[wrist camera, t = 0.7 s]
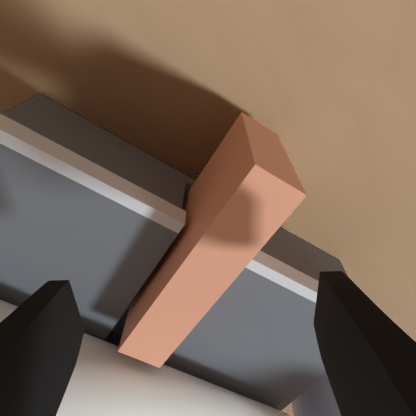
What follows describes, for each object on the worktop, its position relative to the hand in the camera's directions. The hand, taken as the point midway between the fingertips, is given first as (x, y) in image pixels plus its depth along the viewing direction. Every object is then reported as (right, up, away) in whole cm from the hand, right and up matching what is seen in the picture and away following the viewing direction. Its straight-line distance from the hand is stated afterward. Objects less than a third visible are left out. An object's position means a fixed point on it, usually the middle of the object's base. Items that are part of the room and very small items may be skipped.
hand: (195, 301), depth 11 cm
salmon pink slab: (0, +3, +8) cm, 9 cm away
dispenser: (-3, -1, +11) cm, 12 cm away
